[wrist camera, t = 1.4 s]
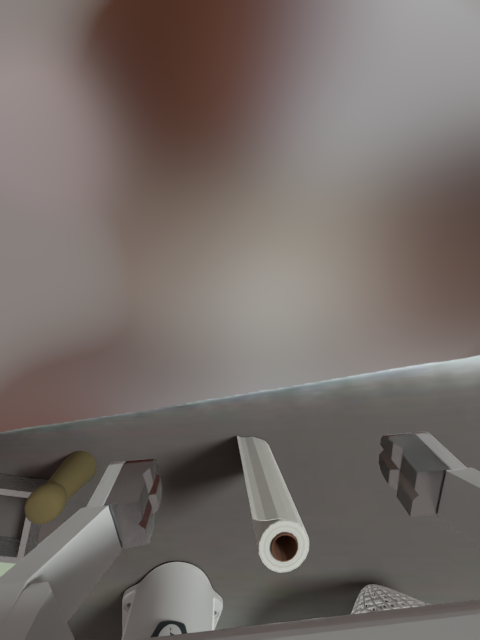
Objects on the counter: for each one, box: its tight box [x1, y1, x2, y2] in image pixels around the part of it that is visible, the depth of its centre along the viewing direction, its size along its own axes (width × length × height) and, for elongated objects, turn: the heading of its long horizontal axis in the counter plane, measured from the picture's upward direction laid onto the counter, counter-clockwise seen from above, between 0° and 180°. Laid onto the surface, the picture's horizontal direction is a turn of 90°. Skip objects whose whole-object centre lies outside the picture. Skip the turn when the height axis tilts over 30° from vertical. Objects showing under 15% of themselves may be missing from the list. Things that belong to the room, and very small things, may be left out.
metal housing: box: [0, 474, 48, 564], centre depth 44 cm, size 12×12×4 cm
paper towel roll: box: [237, 436, 309, 573], centre depth 40 cm, size 7×6×21 cm
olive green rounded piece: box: [24, 451, 96, 524], centre depth 42 cm, size 6×6×11 cm
